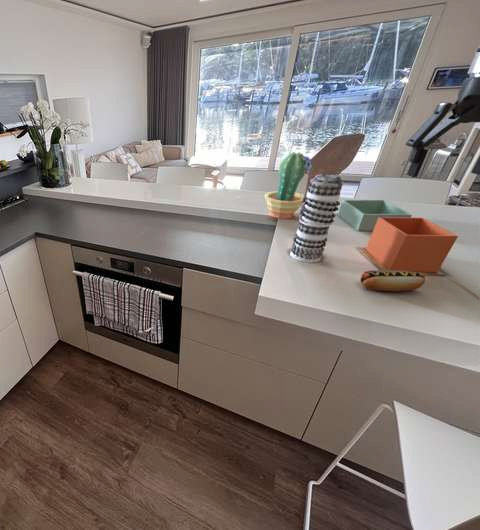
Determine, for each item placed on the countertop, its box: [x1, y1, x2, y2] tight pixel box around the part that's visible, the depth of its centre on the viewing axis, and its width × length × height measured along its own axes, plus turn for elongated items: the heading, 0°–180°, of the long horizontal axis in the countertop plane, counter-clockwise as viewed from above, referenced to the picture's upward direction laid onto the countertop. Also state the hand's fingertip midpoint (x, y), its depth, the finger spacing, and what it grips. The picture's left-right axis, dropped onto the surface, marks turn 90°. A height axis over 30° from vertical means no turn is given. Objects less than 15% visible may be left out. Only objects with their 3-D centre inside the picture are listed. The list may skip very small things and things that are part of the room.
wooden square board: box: [358, 248, 446, 277], centre depth 84 cm, size 14×14×1 cm
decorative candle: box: [289, 173, 346, 264], centre depth 85 cm, size 9×9×25 cm
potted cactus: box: [264, 151, 313, 220], centre depth 115 cm, size 15×15×25 cm
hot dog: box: [359, 269, 426, 292], centre depth 72 cm, size 5×13×5 cm, turn 82°
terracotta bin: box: [365, 217, 459, 273], centre depth 81 cm, size 11×13×11 cm
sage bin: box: [337, 199, 413, 232], centre depth 106 cm, size 14×16×7 cm
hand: (443, 175), depth 72 cm, fingers open, 13 cm apart
